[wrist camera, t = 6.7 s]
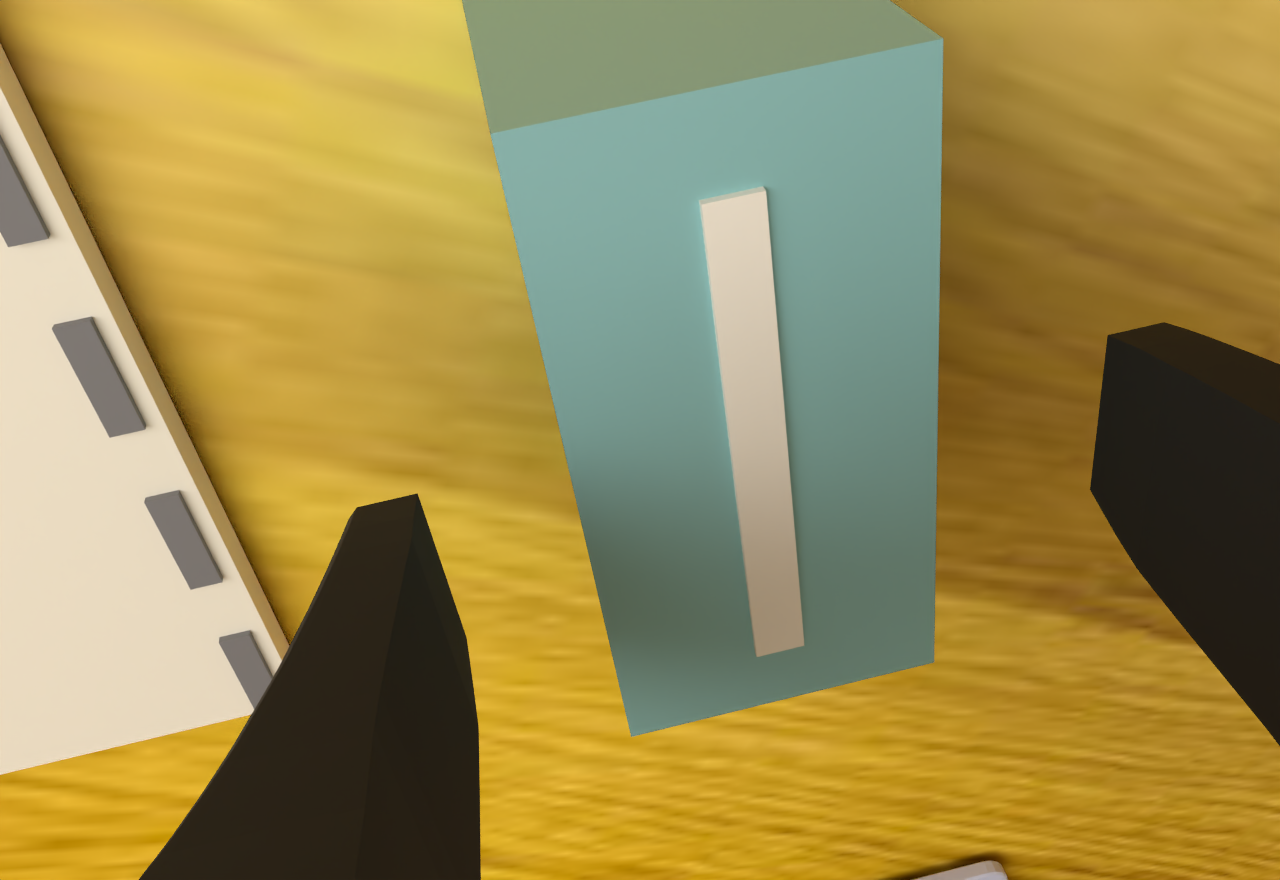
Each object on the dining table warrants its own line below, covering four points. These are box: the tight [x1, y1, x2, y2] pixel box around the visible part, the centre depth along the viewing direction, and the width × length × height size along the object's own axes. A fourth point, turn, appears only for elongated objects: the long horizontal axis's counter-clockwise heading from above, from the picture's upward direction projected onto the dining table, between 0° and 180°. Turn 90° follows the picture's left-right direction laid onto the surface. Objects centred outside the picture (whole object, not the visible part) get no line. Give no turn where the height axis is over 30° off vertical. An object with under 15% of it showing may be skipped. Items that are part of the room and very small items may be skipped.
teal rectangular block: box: [462, 0, 943, 737], centre depth 14 cm, size 4×8×6 cm, turn 8°
